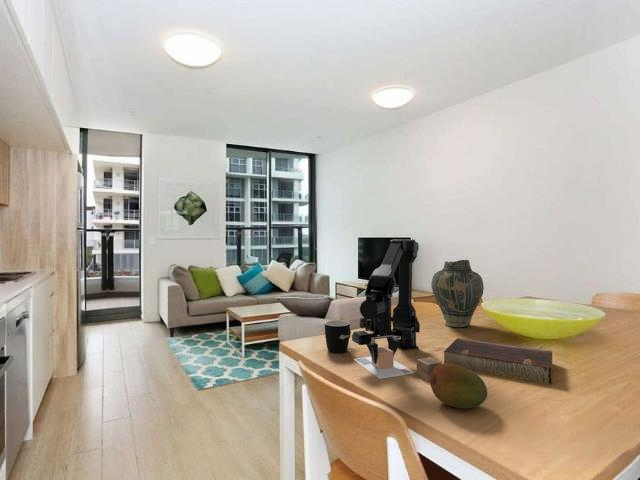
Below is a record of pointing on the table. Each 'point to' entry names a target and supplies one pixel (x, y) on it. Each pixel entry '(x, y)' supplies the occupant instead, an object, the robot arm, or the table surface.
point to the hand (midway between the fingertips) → (382, 362)
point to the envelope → (383, 373)
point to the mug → (337, 335)
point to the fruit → (457, 386)
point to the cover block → (384, 358)
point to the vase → (457, 292)
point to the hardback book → (501, 359)
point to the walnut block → (426, 367)
